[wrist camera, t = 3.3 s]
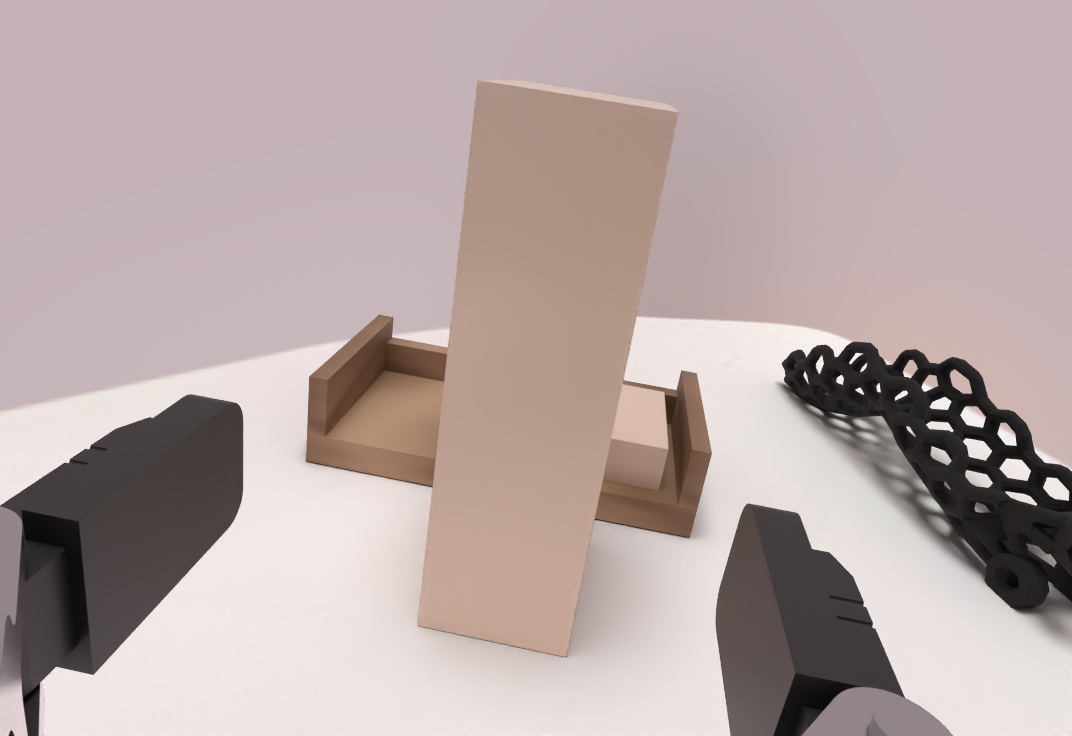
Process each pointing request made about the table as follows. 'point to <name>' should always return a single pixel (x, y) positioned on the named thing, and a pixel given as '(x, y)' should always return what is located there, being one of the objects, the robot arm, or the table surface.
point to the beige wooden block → (537, 352)
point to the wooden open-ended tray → (414, 417)
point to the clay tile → (638, 439)
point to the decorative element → (956, 461)
